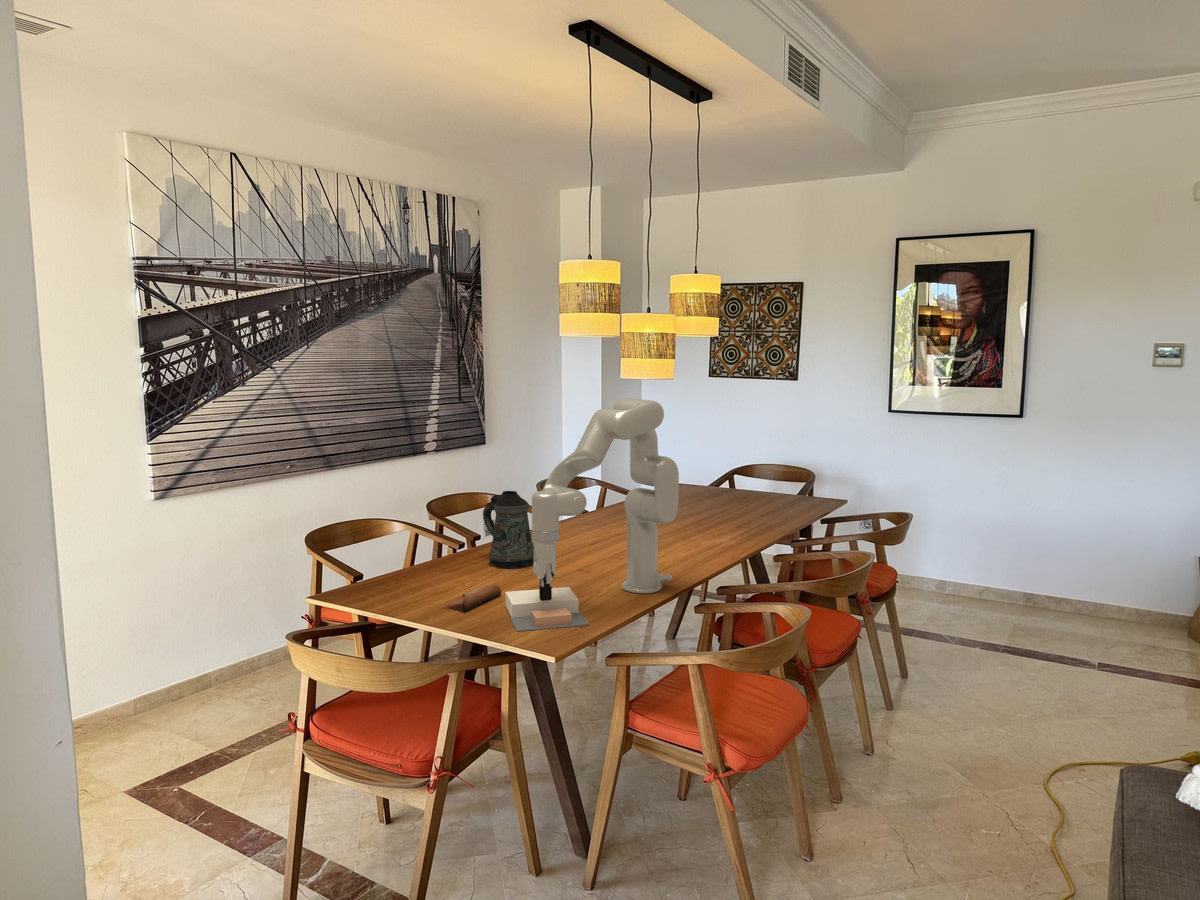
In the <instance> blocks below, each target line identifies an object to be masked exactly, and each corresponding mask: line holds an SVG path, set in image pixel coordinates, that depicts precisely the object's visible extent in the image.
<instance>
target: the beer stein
mask: <svg viewBox="0 0 1200 900" xmlns="http://www.w3.org/2000/svg"><path fill="white" fill-rule="evenodd" d="M529 510H530V503H529V502H528V501H527V500H526V499H524V498H522V497H521V496H520V494H518V491H515V490H503V491H502V493H501V494H495V495H493V496H492V497H491V499H490V502H487V503H486V504H485V505H484V508H483V511H482V517H483V522H484V525H485V527H486V529H487V530H488V532H489V533H490V535H491V536H492V541H491V547H490V549H489V553H488V559H489V564H490V566H492V567H493V568H496V569H504V570H517V569H518V570H520V569H526V568H530V567H533V556H534V542H532V532H531V528H530V523H529V515H528V512H529ZM492 511H494V512H495V519H494V521H493V519H492Z"/></svg>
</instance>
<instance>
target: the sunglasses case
mask: <svg viewBox="0 0 1200 900" xmlns="http://www.w3.org/2000/svg"><path fill="white" fill-rule="evenodd" d="M501 595H502V589H501V587H500V586H499V585H498V584H486V585H483V586H480V587H477V588H475V589H472V590H469V591H466V592H465V593H463V594H462V595H461V596H460V597H458V598H455V599H454V600H452V601H451V602H449V603H448V604H446V605H445V606H444V609H445V610H451V611H454V612H455V611H456V612H460V613H465V612H469V610H471V609H473V608H475V607H476V606H479V604H482V603H484V602H487V601H489V600H491V599H493V598H496V597H497V596H501Z"/></svg>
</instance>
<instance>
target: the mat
mask: <svg viewBox="0 0 1200 900" xmlns="http://www.w3.org/2000/svg"><path fill="white" fill-rule="evenodd" d="M571 615H572V624H564V625H553V626H542V627H535V625H534V623H533V622H532V620H531V617H520V618H512V617H511V618H510V621H511V623H512V624H513V626H514V628H515V631H516V632H518V633H519V632H520V633H521V632H529V631H538V630H539V631H541V630H542V631H543V630H550V629H551V630H553V629H562V628H572V627H573V628H574V627H584V626H587V627H588V626H591V625H590V623H589V620H587V618H586V617H585V616H584V615H583V614H582V612H579V611H578V613H571Z"/></svg>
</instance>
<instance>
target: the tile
mask: <svg viewBox="0 0 1200 900" xmlns="http://www.w3.org/2000/svg"><path fill="white" fill-rule="evenodd" d="M531 620H532V622H533V623H534V625H535V627H542V626H553V625H564V624H572V615H571V613H570V612H569V611H568V609H567V608H560V609H549V610H537V611H531Z"/></svg>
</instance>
